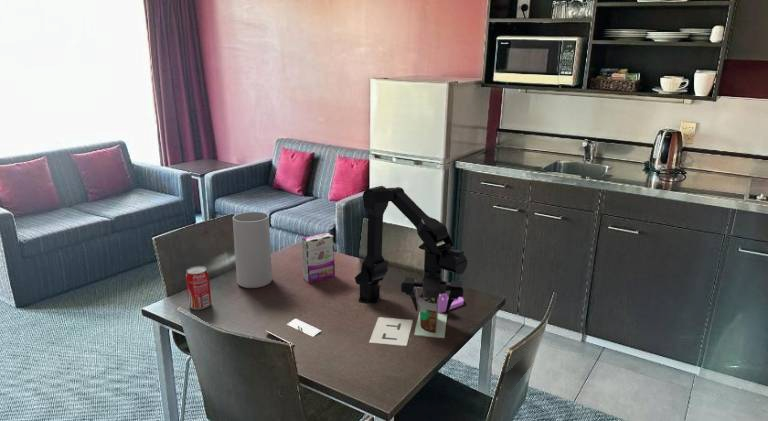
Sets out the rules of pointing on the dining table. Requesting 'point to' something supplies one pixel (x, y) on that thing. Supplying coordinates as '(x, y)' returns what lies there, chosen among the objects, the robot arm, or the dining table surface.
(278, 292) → the dining table surface
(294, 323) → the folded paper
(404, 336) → the pad
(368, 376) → the dining table surface
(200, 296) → the soda can
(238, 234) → the cylinder vase
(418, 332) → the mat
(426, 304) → the food container
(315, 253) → the candy bar box
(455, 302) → the bracket
